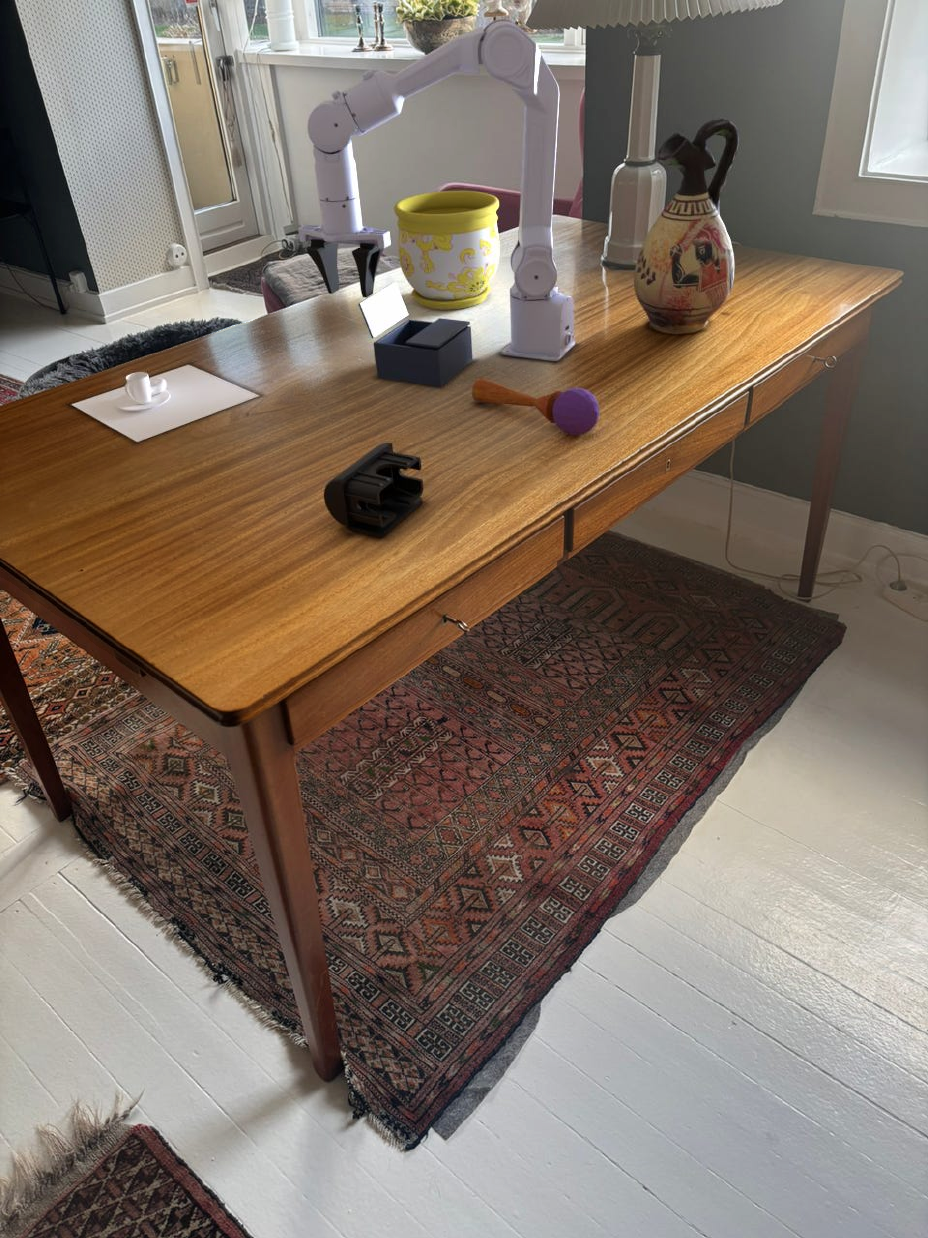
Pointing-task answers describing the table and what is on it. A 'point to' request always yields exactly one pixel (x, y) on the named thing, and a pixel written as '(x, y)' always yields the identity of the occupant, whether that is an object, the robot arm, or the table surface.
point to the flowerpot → (448, 246)
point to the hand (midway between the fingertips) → (350, 293)
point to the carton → (424, 351)
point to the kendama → (546, 405)
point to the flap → (383, 309)
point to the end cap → (375, 492)
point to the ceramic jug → (689, 238)
